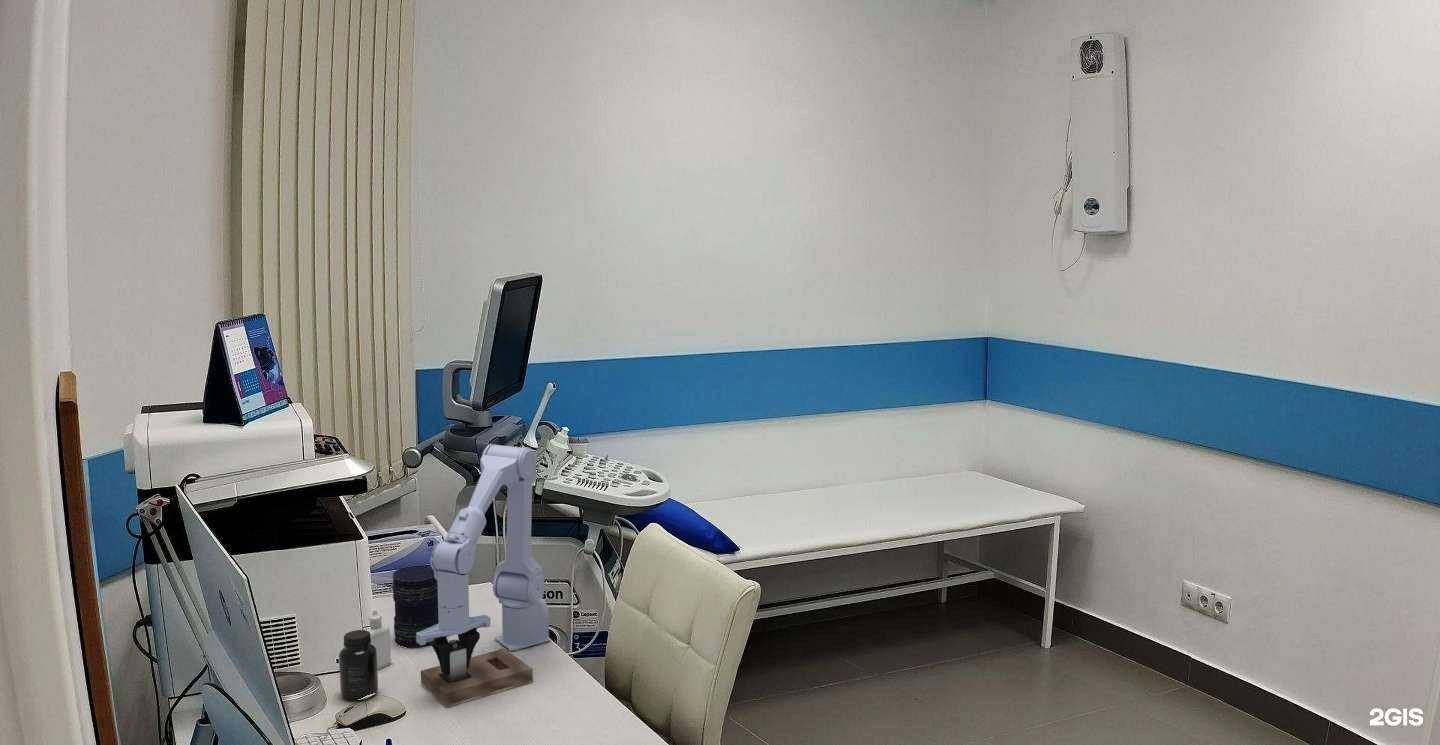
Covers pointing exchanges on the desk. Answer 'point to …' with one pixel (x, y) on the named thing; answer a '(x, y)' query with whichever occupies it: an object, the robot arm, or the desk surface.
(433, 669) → the socket board
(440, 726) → the desk surface
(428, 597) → the storage jar
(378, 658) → the eye dropper bottle
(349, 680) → the supplement bottle
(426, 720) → the desk surface
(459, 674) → the light grey upright block
